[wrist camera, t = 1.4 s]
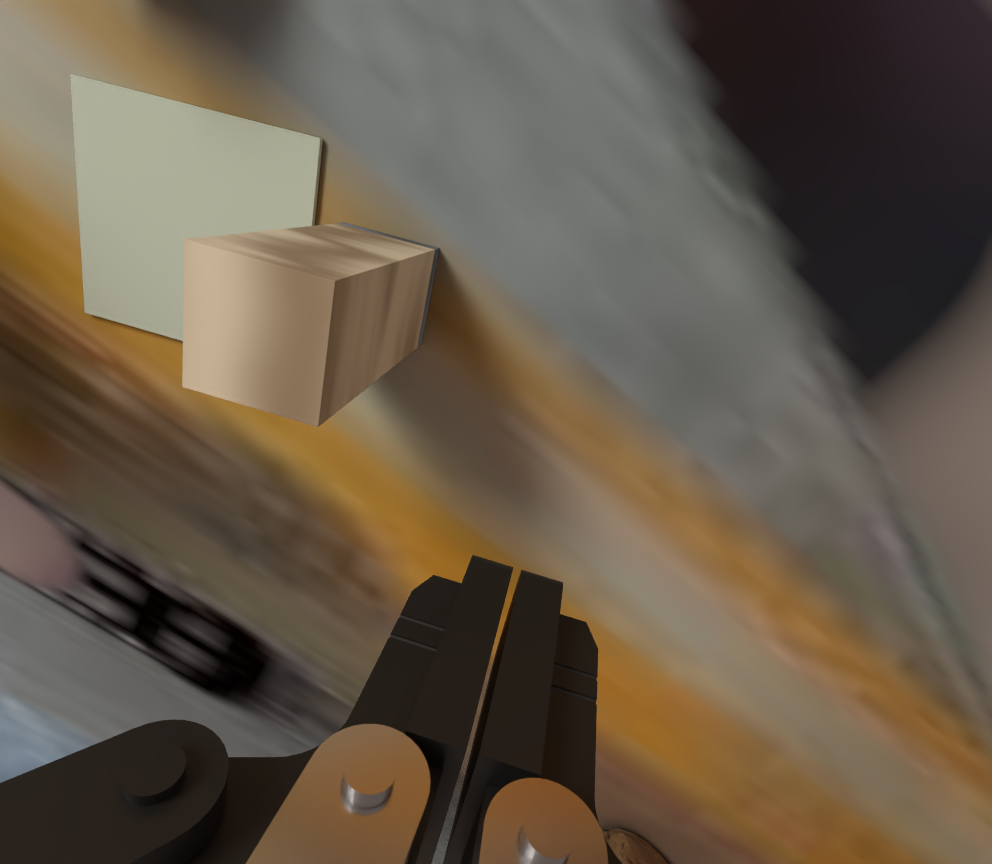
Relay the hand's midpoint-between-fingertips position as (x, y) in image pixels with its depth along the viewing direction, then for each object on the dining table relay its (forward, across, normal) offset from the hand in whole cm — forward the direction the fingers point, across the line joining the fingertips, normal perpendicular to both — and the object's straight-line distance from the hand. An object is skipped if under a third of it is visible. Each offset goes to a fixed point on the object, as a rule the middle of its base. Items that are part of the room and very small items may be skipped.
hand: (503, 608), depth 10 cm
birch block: (+21, +10, 0) cm, 23 cm away
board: (+21, +20, 0) cm, 29 cm away
